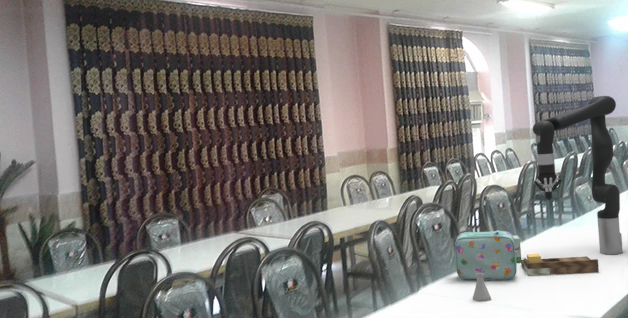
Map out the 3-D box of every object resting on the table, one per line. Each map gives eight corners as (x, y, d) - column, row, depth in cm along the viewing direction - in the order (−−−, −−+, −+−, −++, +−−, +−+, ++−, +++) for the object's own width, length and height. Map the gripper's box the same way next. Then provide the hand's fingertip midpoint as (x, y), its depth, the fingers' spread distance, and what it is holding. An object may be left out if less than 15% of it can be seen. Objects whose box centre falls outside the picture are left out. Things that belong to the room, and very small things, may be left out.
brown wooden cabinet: (587, 262, 273) (586, 251, 272) (598, 272, 256) (597, 259, 256) (521, 266, 278) (520, 254, 277) (528, 275, 261) (527, 263, 261)
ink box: (522, 262, 284) (520, 238, 283) (511, 263, 285) (509, 238, 284) (519, 258, 292) (517, 234, 292) (509, 259, 293) (507, 235, 293)
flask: (469, 297, 239) (467, 273, 238) (487, 295, 239) (485, 270, 239) (476, 302, 232) (474, 277, 231) (494, 300, 232) (492, 275, 232)
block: (539, 264, 266) (538, 253, 266) (541, 267, 261) (540, 256, 261) (527, 265, 267) (526, 254, 267) (529, 268, 262) (529, 256, 262)
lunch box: (520, 274, 264) (516, 227, 263) (520, 281, 254) (516, 231, 253) (458, 275, 273) (454, 229, 272) (456, 281, 263) (452, 233, 262)
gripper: (532, 165, 279) (535, 201, 280) (562, 162, 276) (565, 199, 277) (529, 163, 286) (532, 199, 287) (558, 161, 284) (561, 197, 285)
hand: (548, 199), depth 282 cm, fingers closed
